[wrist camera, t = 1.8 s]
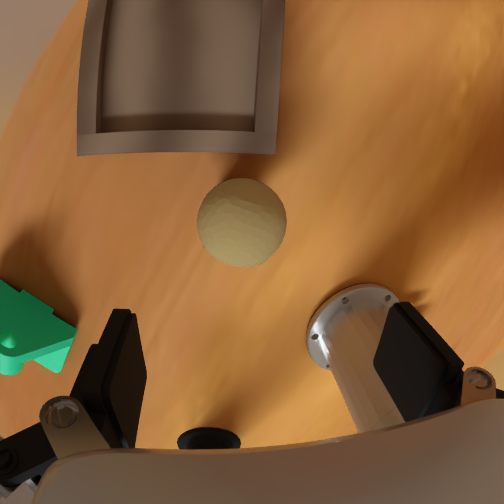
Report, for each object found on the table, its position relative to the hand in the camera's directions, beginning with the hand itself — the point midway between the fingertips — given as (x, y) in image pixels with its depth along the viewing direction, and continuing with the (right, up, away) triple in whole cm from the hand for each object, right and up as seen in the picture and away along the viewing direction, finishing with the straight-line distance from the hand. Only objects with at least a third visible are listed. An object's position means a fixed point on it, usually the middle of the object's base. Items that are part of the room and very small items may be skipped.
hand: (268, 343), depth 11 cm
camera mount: (-28, -5, +21) cm, 35 cm away
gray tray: (-6, +19, +13) cm, 24 cm away
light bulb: (-2, +8, +19) cm, 21 cm away
